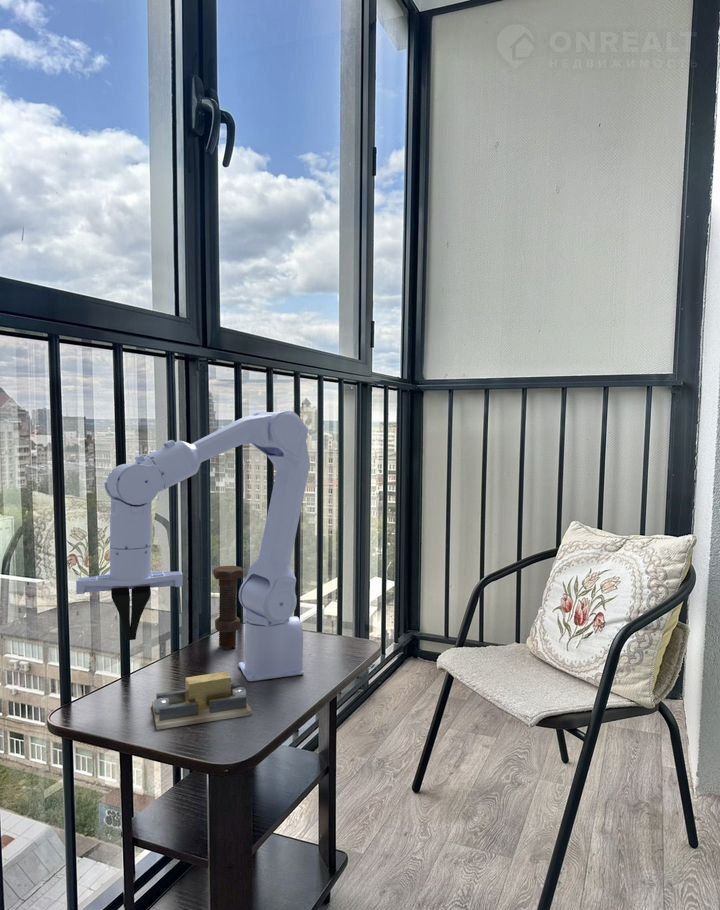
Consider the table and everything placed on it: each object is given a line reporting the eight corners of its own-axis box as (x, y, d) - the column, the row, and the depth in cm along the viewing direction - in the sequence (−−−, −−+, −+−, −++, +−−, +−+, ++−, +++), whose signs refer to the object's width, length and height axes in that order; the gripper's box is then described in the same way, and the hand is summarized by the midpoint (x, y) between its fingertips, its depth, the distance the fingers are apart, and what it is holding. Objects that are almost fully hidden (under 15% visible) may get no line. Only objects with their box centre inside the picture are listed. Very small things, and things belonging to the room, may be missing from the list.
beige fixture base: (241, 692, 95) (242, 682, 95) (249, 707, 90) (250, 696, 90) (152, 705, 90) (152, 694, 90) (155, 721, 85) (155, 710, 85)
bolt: (231, 640, 121) (231, 564, 120) (248, 646, 117) (249, 567, 117) (206, 648, 116) (207, 568, 116) (223, 654, 113) (224, 572, 112)
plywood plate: (240, 693, 96) (240, 689, 96) (251, 714, 89) (251, 710, 89) (152, 705, 91) (152, 701, 91) (156, 729, 84) (156, 725, 84)
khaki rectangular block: (225, 697, 93) (226, 671, 93) (230, 704, 91) (230, 677, 91) (185, 704, 90) (185, 677, 90) (189, 712, 88) (189, 684, 88)
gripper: (179, 539, 97) (178, 625, 98) (77, 543, 92) (77, 635, 92) (184, 547, 91) (183, 639, 91) (75, 552, 85) (75, 650, 85)
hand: (130, 638), depth 91 cm, fingers closed
